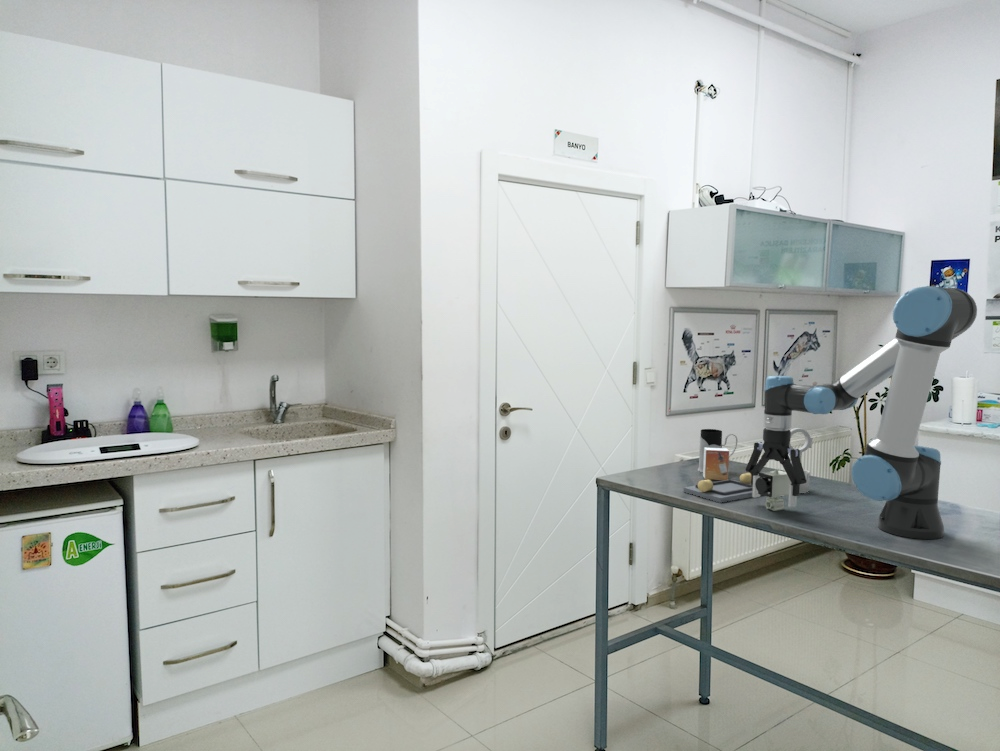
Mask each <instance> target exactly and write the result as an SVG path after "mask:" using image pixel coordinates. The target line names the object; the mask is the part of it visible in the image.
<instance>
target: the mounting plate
mask: <svg viewBox="0 0 1000 751" xmlns="http://www.w3.org/2000/svg"><path fill="white" fill-rule="evenodd" d="M685 492H686V494H688V493H689V495H692V494H693V495H692V496H695V495H696V497H698V496H700V497H699V498H702V497H703V498H702V499H705V498H706V500H709V499H710V500H709V501H712V500H713V501H712V502H715V501H716V503H718V504H722V502H723V503H727V501H728V502H732V500H733V501H737V500H738V499H739V500H743V499H748V498H753V497H752V492H753V485H751V473H749V472H745V473H742V474H740V475H739V480H735V479H728V480H716V481H712V479H704V480H703V479H702V480H699V481H698V482H697V484H695V485H690V486H684V487H683V493H685ZM760 496H762V495H761V494H760Z"/></svg>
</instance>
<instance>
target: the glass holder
mask: <svg viewBox="0 0 1000 751" xmlns="http://www.w3.org/2000/svg"><path fill="white" fill-rule="evenodd" d="M730 436H733V437H735V445H734V448H733V450H732V452H731V453H729V458H731V457H732V456H733V455H734V453H735V451H736V450H737V446H738V437H737V436H736V435H735V434H733V433H729V434H727V435H726V436H725V439H724V444H722V442H723V431H722V430H720V429H716V428H715V429H714V428H704V429H700V437H699V456H698V457H699V458H698V468H697V471H698V472H699V471H700V473H702V472H703V464H704V447H707V448H723V447H724V446H726V445H727V440H728V438H729V437H730Z"/></svg>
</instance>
